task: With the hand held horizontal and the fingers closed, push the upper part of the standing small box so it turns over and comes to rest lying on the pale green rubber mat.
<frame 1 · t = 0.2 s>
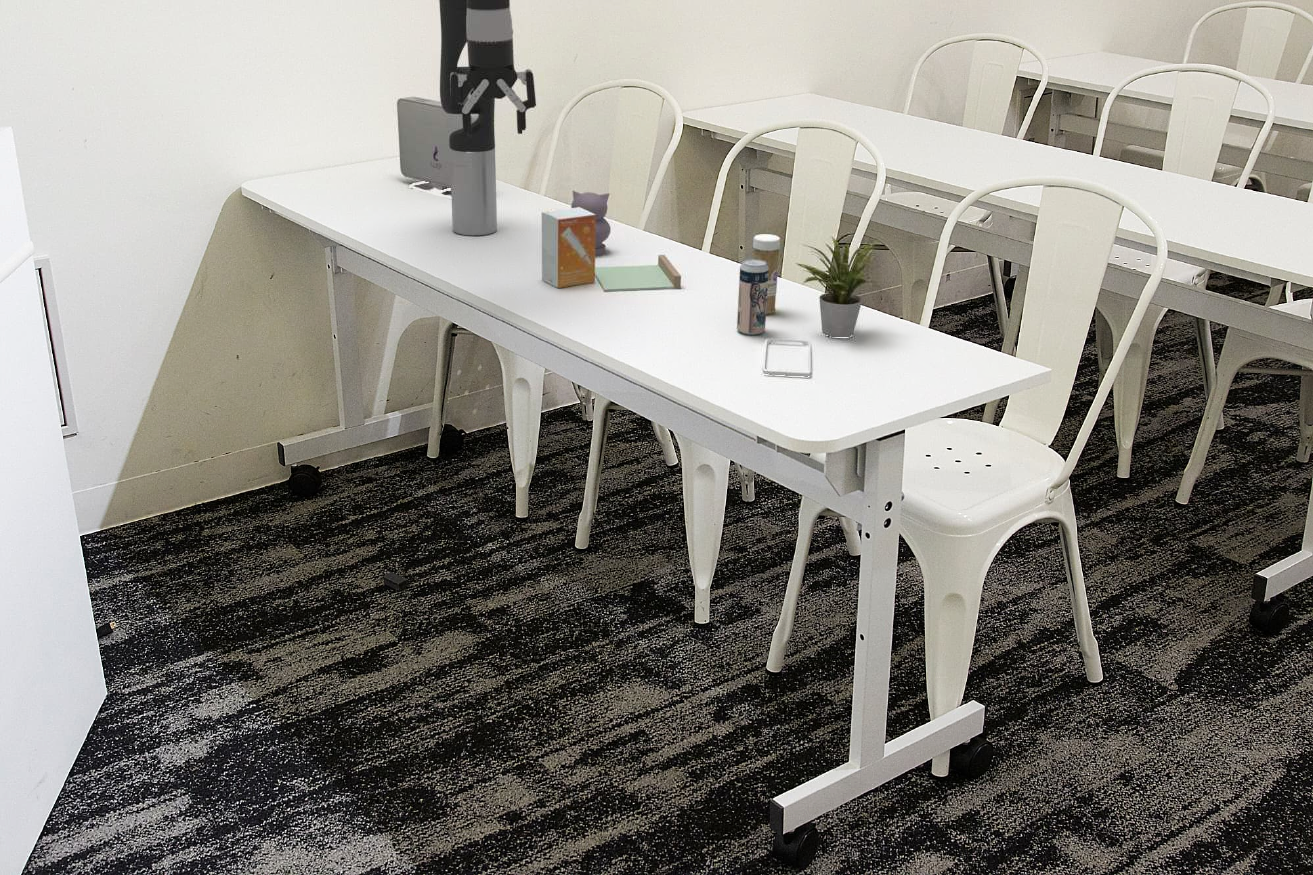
hand: (494, 134, 224), 29 cm above the table, tool pointing down, fingers open, 8 cm apart
beer can: (750, 332, 221), on the table
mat: (632, 278, 246), on the table
network device: (443, 191, 307), on the table
white phone case: (786, 364, 209), on the table
sprinkles bottle: (762, 312, 231), on the table
house plant: (839, 332, 222), on the table
small box: (568, 282, 244), on the table
cat figurine: (589, 253, 262), on the table
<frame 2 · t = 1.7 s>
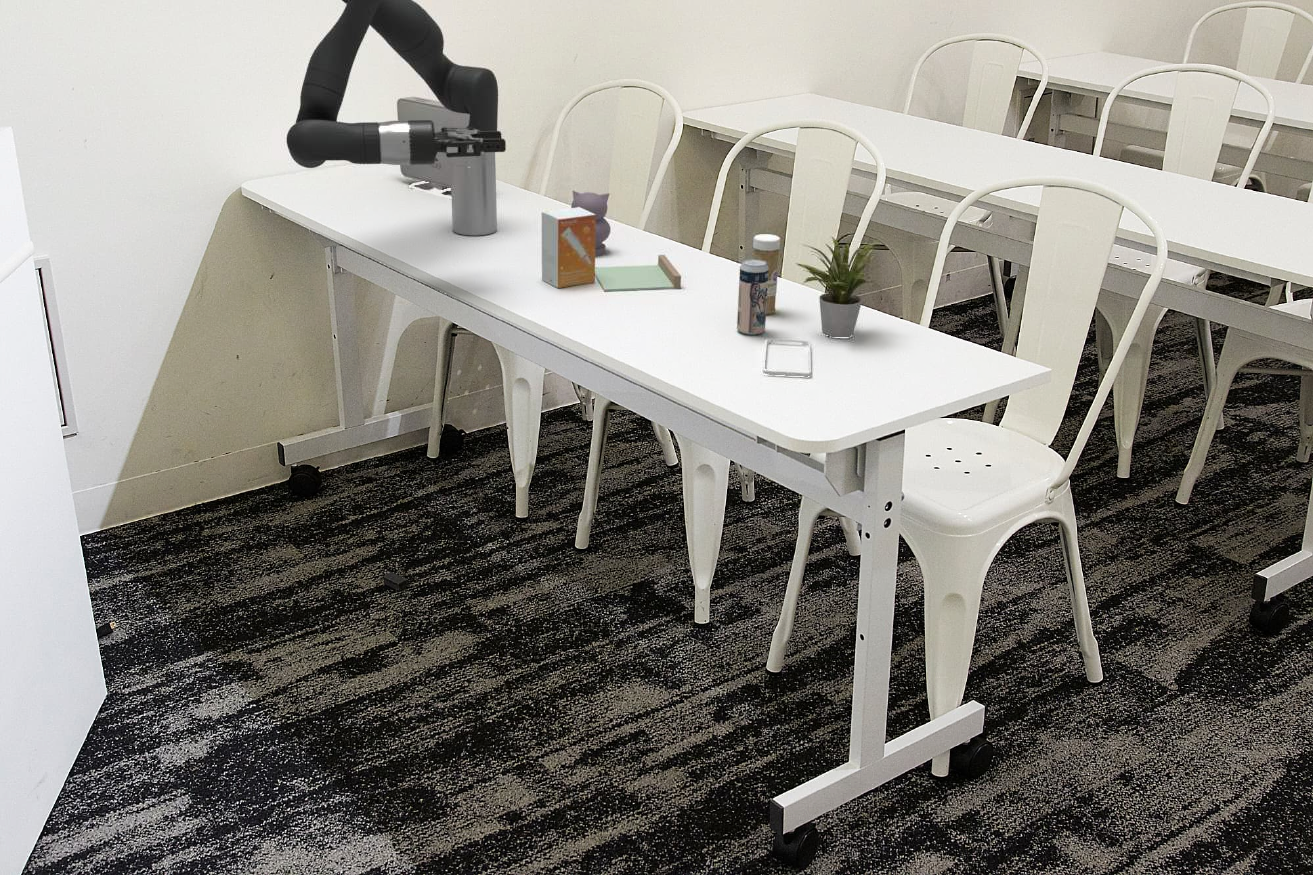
hand: (503, 141, 231), 26 cm above the table, tool horizontal, fingers open, 6 cm apart
nothing on the table moved.
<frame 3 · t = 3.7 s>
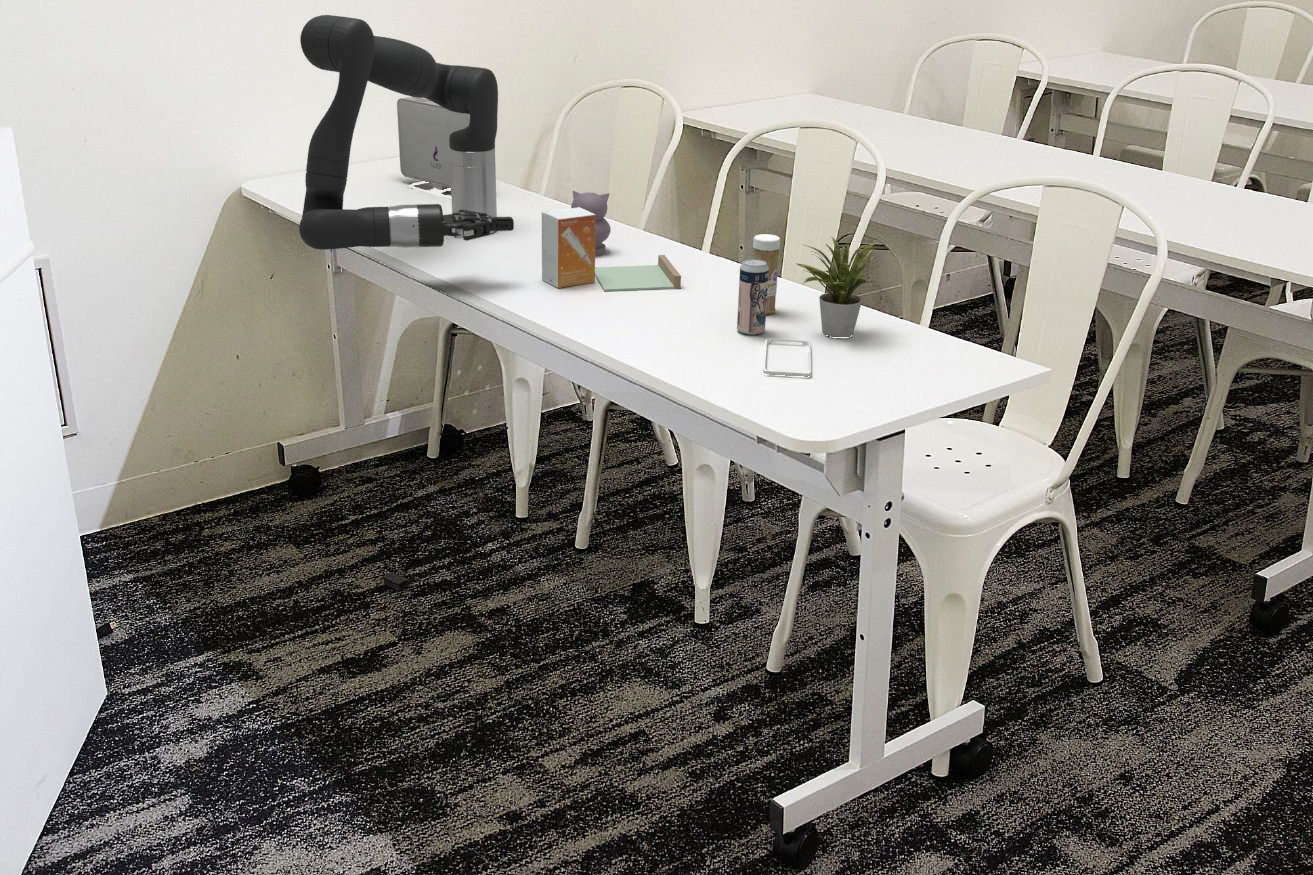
hand: (513, 223, 237), 11 cm above the table, tool horizontal, fingers closed
nothing on the table moved.
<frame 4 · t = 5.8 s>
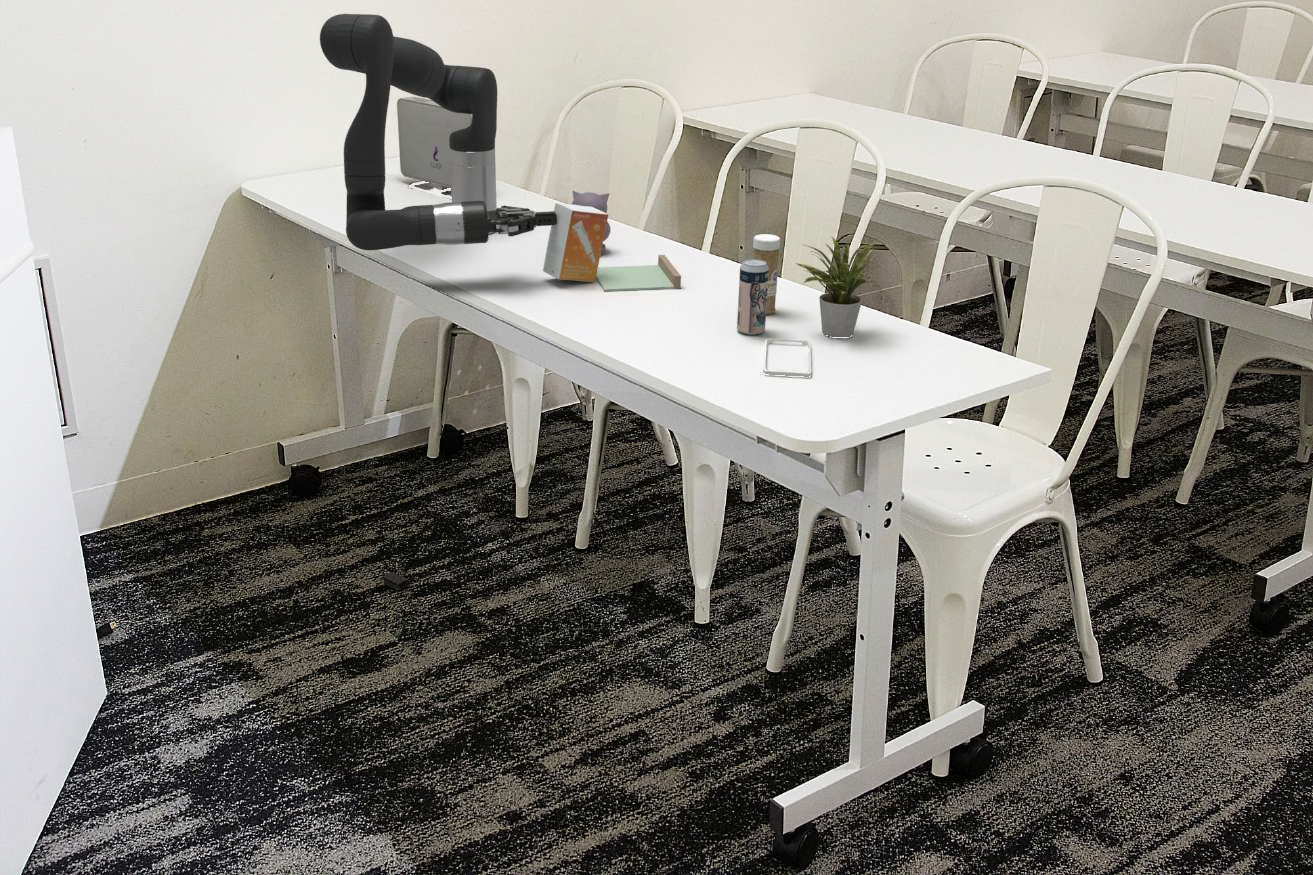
hand: (556, 218, 239), 12 cm above the table, tool horizontal, fingers closed
small box: (568, 278, 244), point 1 cm above the table, touching gripper
everything else where it was.
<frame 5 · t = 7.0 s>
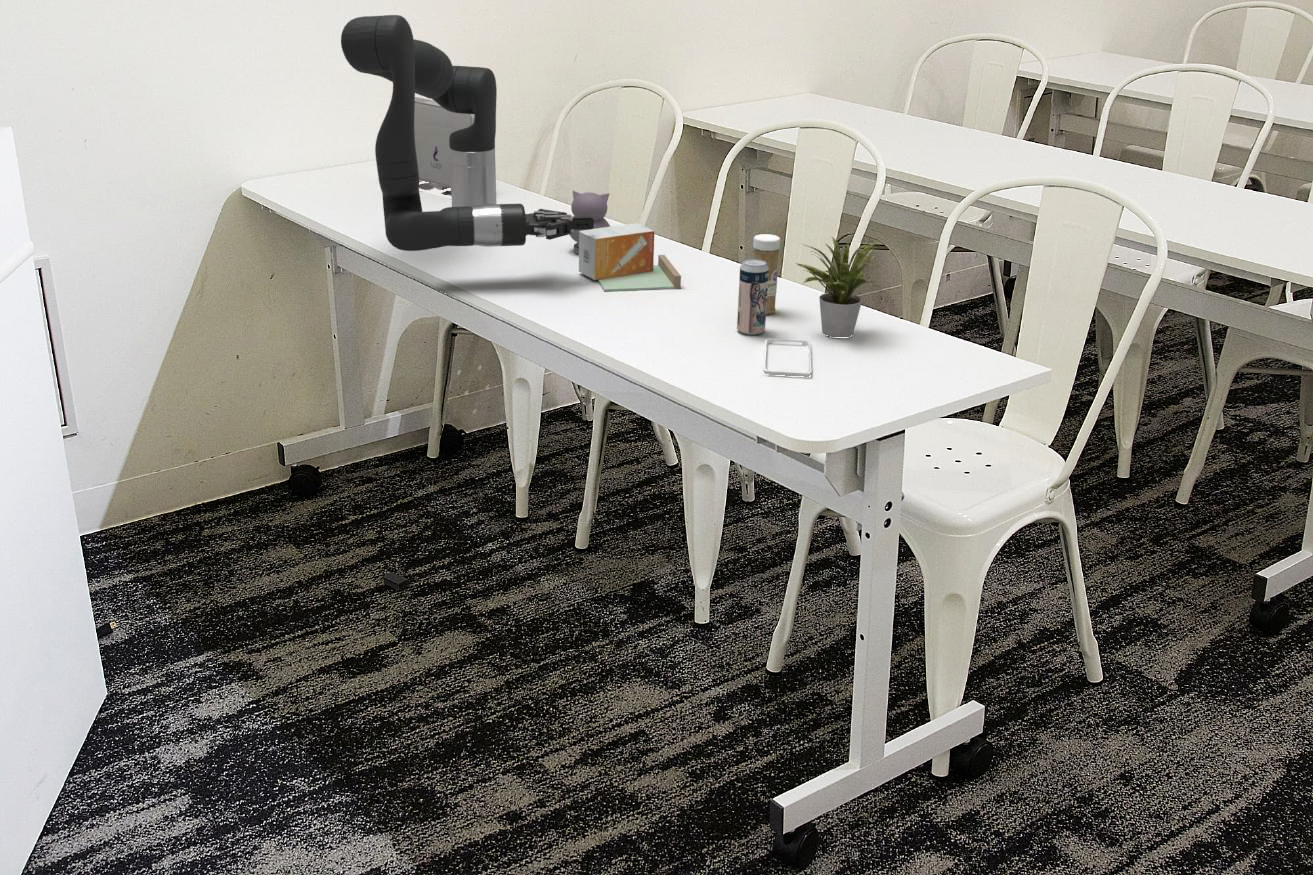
hand: (592, 222, 240), 11 cm above the table, tool horizontal, fingers closed
small box: (585, 256, 244), point 4 cm above the table, touching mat
everything else where it was.
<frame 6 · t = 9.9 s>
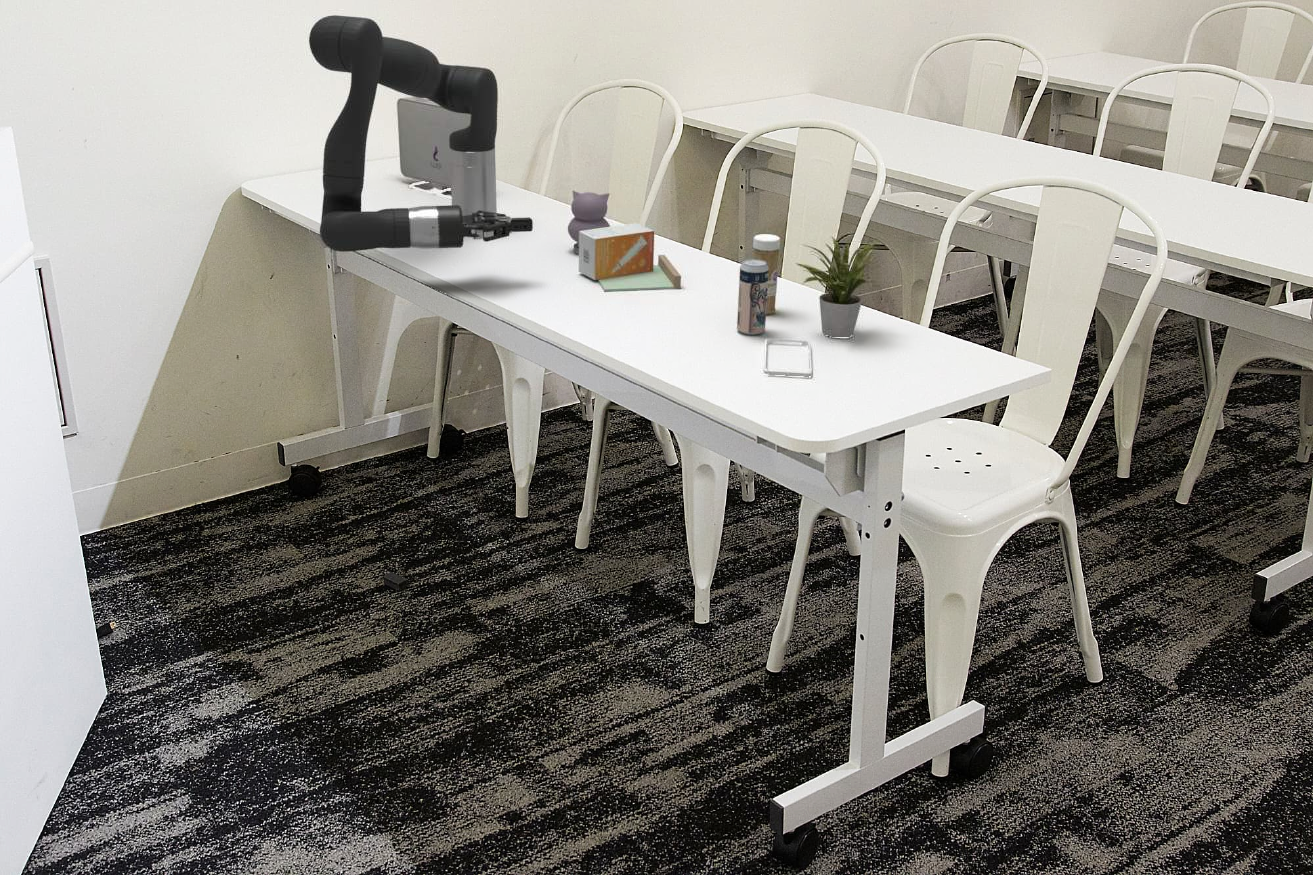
hand: (531, 224, 238), 11 cm above the table, tool horizontal, fingers closed
nothing on the table moved.
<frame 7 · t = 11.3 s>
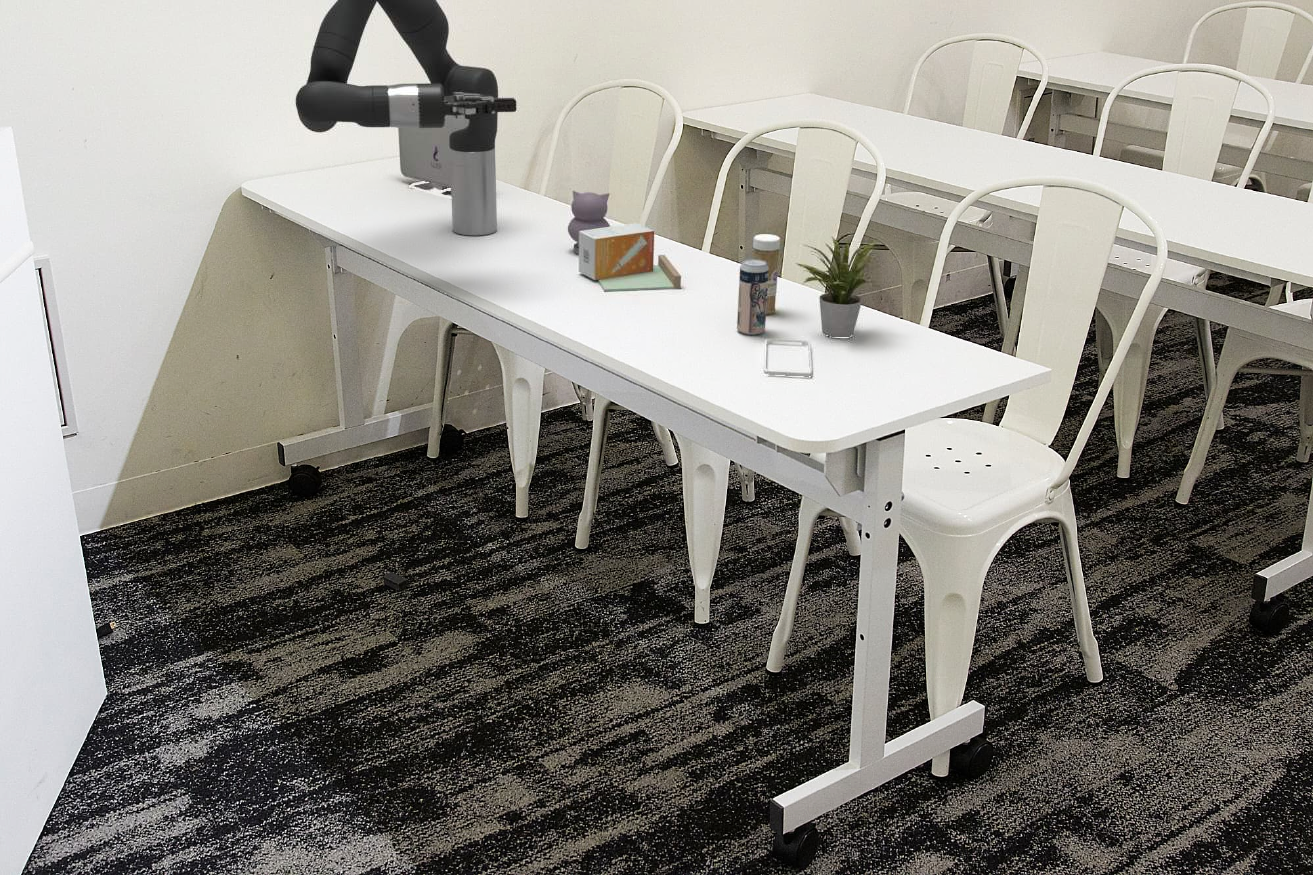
hand: (515, 104, 231), 32 cm above the table, tool horizontal, fingers closed
nothing on the table moved.
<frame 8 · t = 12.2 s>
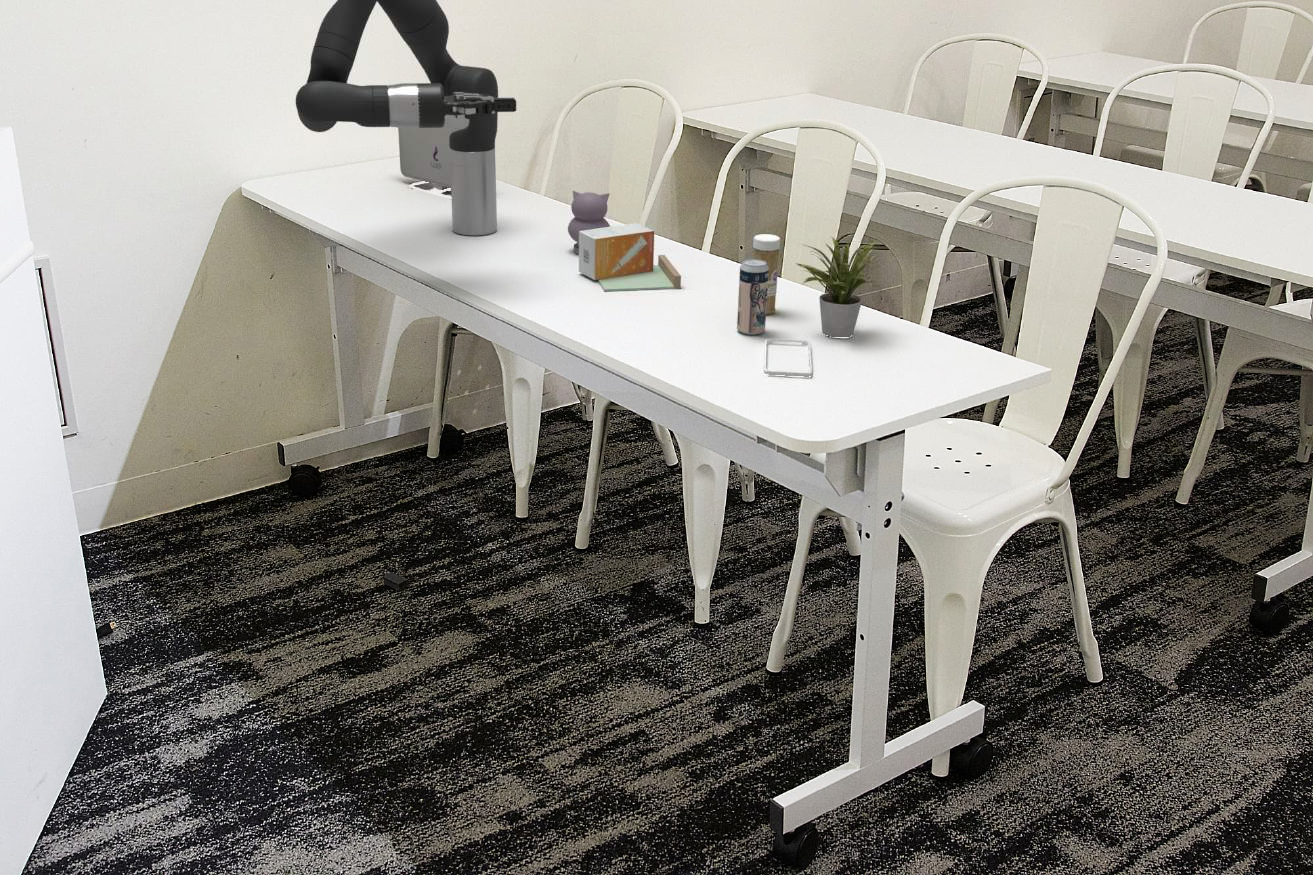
hand: (515, 104, 231), 32 cm above the table, tool horizontal, fingers closed
nothing on the table moved.
at the end: small box tilted 90°; small box inside the target area (6.2 cm from its centre), point 4.4 cm above the table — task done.
